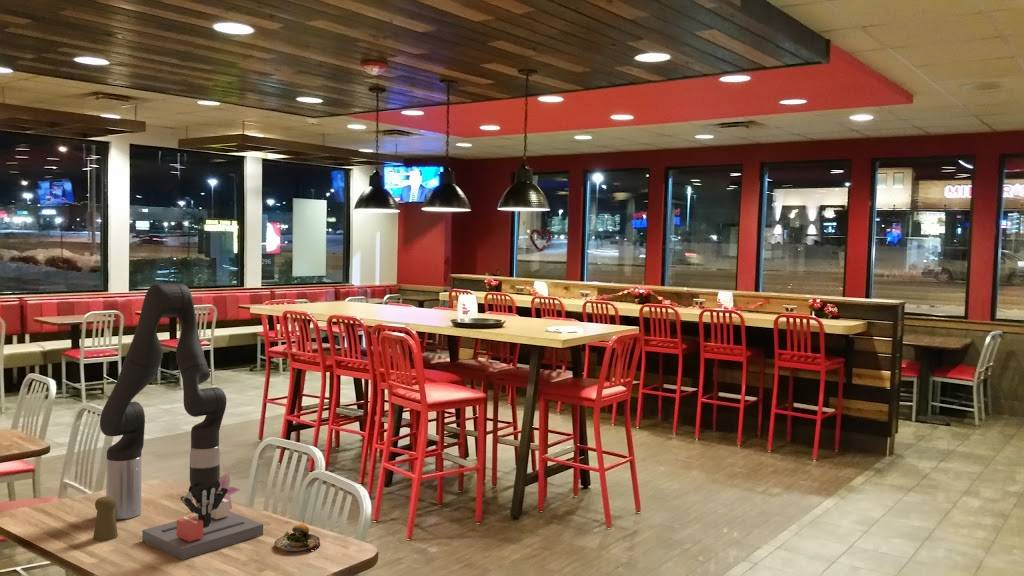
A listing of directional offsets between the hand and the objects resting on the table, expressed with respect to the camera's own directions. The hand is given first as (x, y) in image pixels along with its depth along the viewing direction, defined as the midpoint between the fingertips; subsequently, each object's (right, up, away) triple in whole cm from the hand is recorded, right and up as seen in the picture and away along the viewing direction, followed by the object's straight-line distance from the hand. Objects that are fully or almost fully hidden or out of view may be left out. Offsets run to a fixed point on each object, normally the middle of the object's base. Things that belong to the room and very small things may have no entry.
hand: (204, 526), depth 211 cm
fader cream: (-2, -1, +14) cm, 14 cm away
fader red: (-3, -2, -3) cm, 4 cm away
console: (-2, -5, +5) cm, 8 cm away
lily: (-8, -4, +31) cm, 33 cm away
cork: (-29, -4, +4) cm, 29 cm away
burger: (+25, -6, +1) cm, 25 cm away
